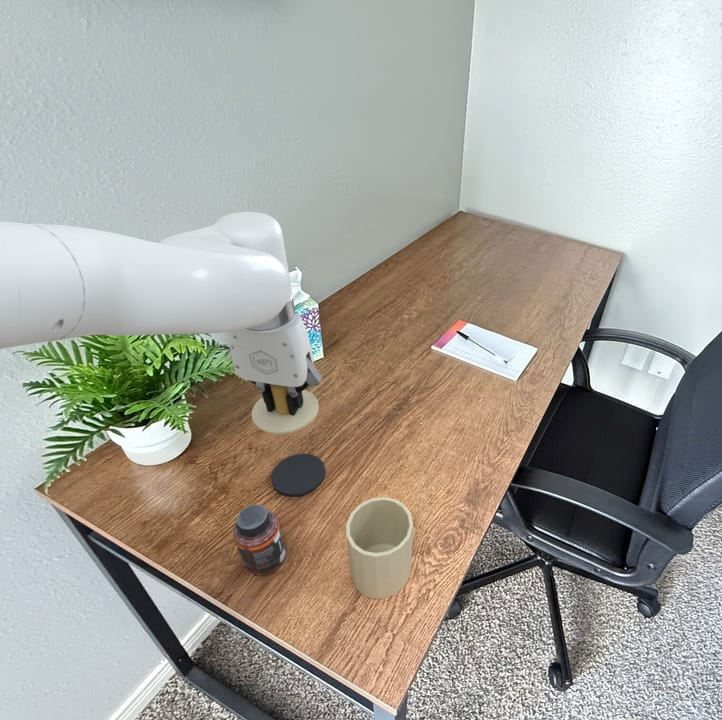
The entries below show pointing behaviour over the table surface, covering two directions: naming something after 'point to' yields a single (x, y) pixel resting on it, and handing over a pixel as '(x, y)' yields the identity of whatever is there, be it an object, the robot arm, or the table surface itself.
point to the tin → (380, 547)
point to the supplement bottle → (259, 540)
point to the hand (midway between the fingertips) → (285, 406)
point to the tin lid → (284, 412)
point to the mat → (298, 475)
